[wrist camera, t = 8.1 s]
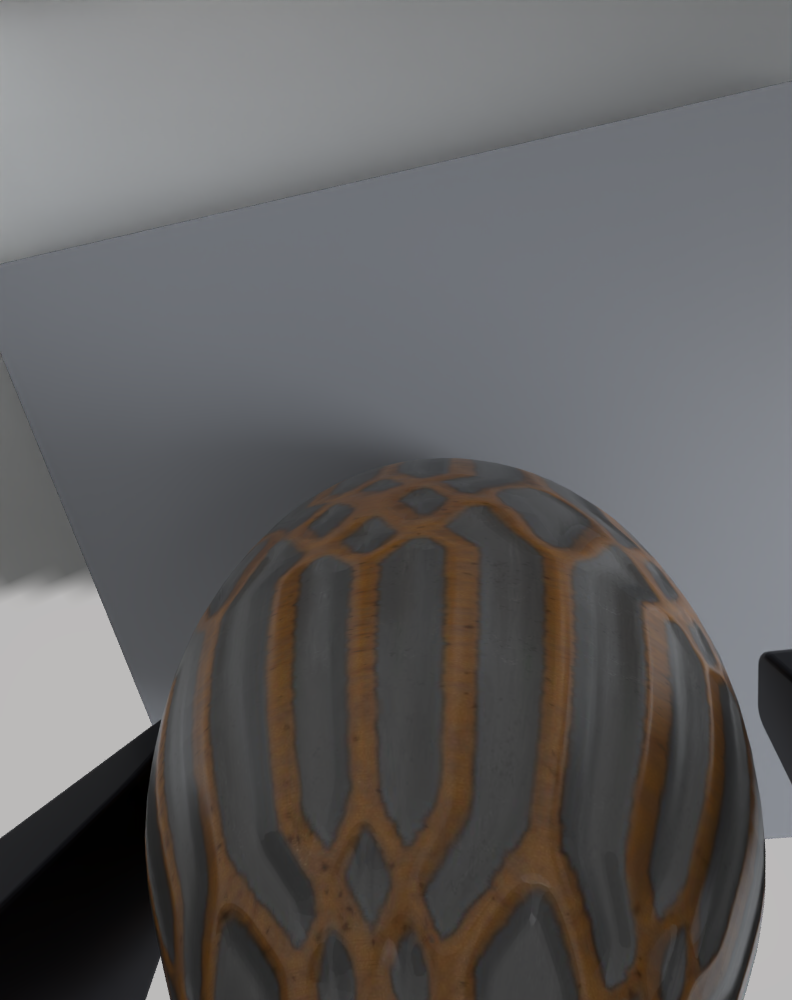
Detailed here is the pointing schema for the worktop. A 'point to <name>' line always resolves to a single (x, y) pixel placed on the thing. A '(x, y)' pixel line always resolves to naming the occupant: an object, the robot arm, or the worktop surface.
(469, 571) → the vase
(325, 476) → the board
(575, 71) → the worktop surface
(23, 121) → the worktop surface
